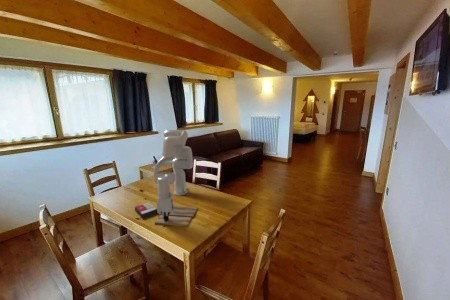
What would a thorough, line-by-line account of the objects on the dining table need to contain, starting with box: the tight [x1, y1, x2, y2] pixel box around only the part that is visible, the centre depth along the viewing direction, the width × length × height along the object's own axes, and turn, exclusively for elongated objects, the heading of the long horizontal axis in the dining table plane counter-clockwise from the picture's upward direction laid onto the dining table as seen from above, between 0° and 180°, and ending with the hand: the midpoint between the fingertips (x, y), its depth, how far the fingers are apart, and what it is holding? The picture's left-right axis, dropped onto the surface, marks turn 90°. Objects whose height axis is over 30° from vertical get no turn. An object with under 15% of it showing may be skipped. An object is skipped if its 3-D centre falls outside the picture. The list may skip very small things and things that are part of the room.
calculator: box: [134, 202, 159, 220], centre depth 154 cm, size 11×4×15 cm
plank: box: [154, 214, 192, 227], centre depth 142 cm, size 9×22×1 cm, turn 83°
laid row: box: [159, 205, 198, 219], centre depth 153 cm, size 12×24×1 cm, turn 83°
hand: (166, 220), depth 141 cm, fingers closed
